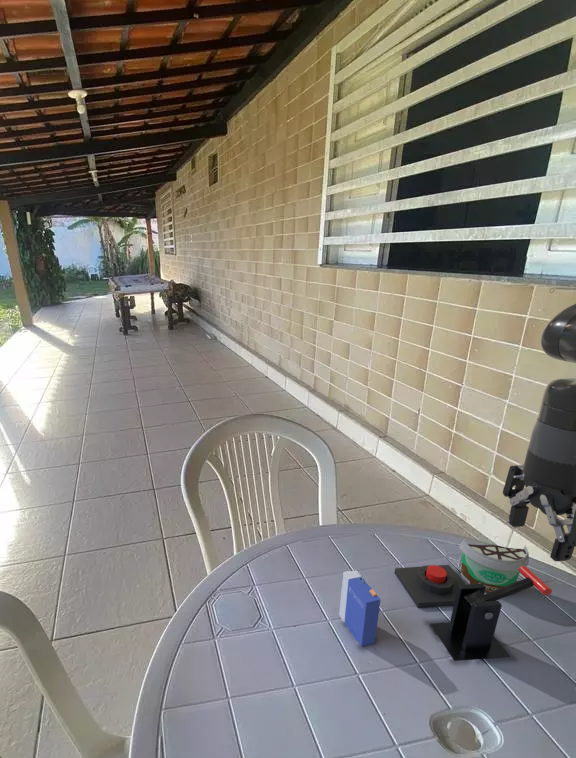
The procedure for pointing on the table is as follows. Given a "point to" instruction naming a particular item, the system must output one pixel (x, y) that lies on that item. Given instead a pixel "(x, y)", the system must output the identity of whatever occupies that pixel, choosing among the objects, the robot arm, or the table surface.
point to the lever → (510, 588)
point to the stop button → (436, 574)
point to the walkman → (359, 608)
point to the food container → (491, 565)
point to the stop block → (429, 586)
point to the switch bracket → (471, 628)
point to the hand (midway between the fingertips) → (536, 541)
